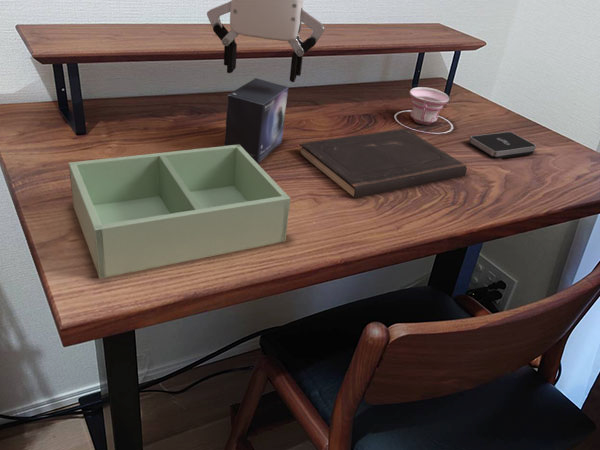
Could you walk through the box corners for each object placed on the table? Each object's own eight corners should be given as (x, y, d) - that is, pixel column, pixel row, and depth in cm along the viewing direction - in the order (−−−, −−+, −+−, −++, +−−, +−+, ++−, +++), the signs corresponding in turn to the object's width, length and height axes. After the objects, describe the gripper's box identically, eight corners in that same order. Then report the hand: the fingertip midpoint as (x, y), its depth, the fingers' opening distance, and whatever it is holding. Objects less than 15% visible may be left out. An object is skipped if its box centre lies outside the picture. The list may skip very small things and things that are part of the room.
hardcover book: (298, 155, 92) (299, 143, 91) (403, 140, 103) (405, 128, 102) (353, 202, 81) (356, 188, 80) (464, 178, 92) (468, 166, 91)
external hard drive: (534, 155, 104) (537, 146, 103) (491, 162, 100) (495, 152, 98) (507, 140, 109) (510, 131, 108) (465, 146, 104) (468, 136, 103)
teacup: (398, 108, 118) (404, 80, 115) (455, 121, 116) (463, 92, 112) (388, 127, 108) (395, 96, 105) (450, 141, 106) (458, 110, 102)
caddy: (99, 282, 59) (94, 229, 56) (73, 210, 71) (68, 162, 67) (284, 244, 70) (290, 198, 66) (236, 186, 81) (239, 144, 77)
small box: (259, 168, 87) (264, 104, 81) (221, 157, 88) (224, 94, 83) (283, 144, 95) (290, 85, 90) (249, 135, 97) (254, 76, 91)
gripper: (334, -43, 79) (319, 75, 88) (215, -59, 79) (213, 60, 88) (331, -37, 72) (315, 90, 81) (201, -54, 73) (200, 74, 82)
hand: (262, 75), depth 85 cm, fingers open, 9 cm apart
